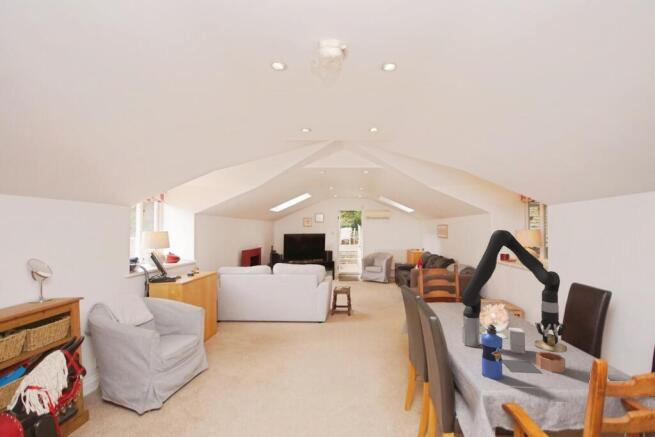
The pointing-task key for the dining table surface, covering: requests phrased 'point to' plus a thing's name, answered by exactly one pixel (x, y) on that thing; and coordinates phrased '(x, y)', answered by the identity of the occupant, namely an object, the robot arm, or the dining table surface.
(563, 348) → the lid
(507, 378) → the dining table surface
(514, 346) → the supplement box
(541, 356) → the bowl
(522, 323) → the dining table surface
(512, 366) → the mat
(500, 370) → the water bottle
